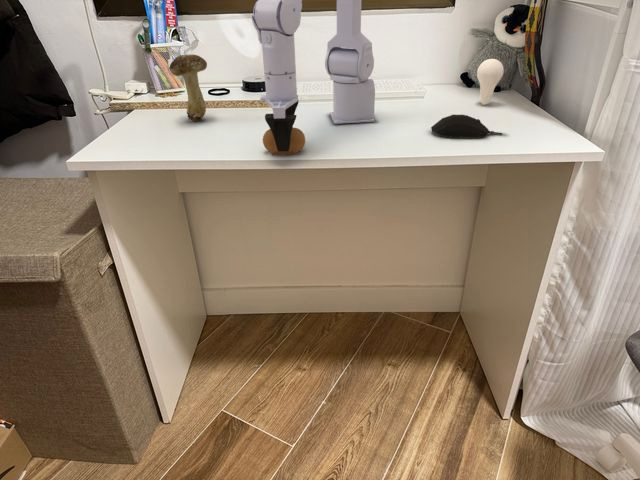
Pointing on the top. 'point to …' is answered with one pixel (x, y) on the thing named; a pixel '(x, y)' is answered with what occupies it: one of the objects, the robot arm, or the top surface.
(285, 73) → the robot arm
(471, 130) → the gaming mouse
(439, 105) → the top surface
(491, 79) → the lightbulb
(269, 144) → the potato
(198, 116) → the mushroom
